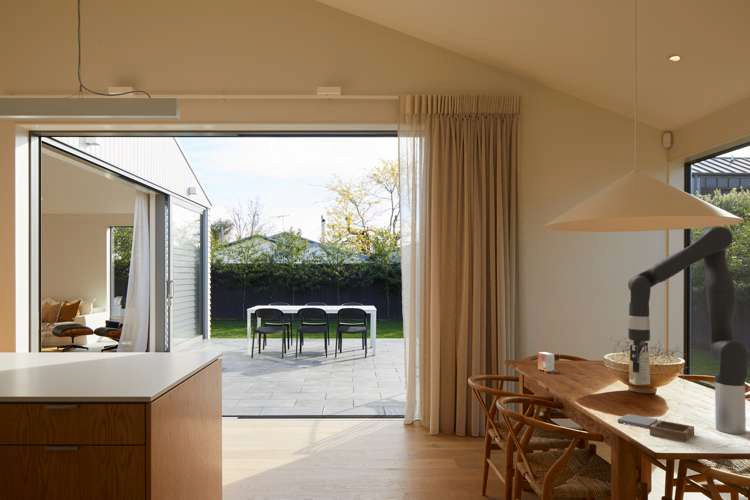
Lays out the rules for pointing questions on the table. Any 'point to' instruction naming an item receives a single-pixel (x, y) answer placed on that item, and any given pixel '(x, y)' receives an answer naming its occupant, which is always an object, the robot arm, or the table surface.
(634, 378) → the skincare box
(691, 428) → the pocket holder
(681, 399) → the table surface
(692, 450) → the table surface
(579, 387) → the table surface
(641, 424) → the rubber mat
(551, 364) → the small box
